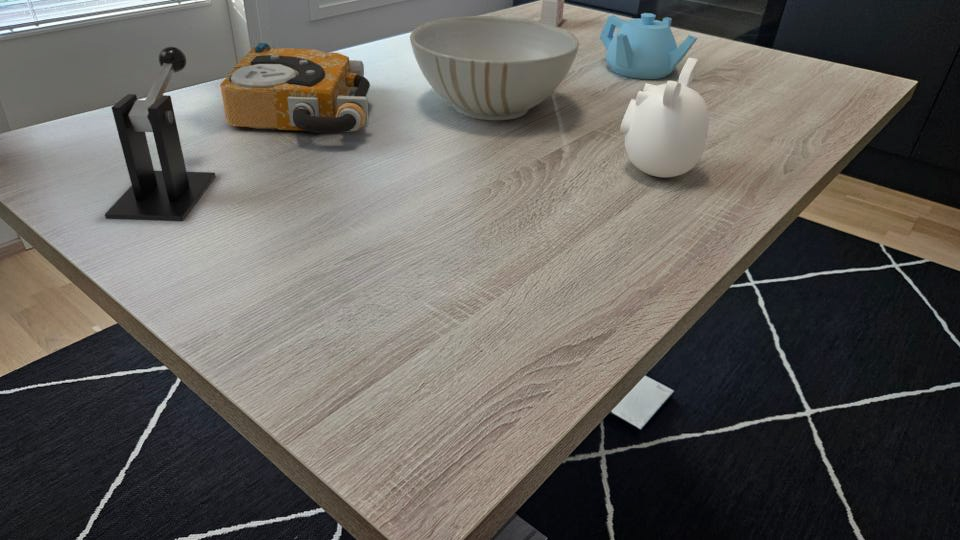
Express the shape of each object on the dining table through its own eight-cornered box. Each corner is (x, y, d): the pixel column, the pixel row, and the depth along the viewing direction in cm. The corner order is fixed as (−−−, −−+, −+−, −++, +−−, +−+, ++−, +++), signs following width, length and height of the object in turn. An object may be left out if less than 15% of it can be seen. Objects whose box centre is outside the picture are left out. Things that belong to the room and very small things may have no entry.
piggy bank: (614, 151, 105) (629, 50, 97) (694, 159, 103) (716, 58, 95) (613, 188, 95) (630, 78, 86) (701, 197, 93) (727, 87, 85)
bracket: (147, 178, 92) (124, 82, 85) (216, 180, 92) (198, 85, 85) (106, 223, 82) (76, 118, 75) (184, 225, 82) (160, 121, 75)
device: (384, 41, 121) (359, 100, 96) (386, 88, 125) (362, 156, 100) (252, 36, 120) (192, 94, 95) (258, 83, 125) (202, 151, 100)
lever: (167, 62, 90) (159, 40, 88) (192, 63, 90) (185, 41, 88) (132, 134, 81) (122, 112, 79) (159, 135, 81) (150, 113, 79)
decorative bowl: (456, 152, 103) (457, 70, 96) (386, 95, 122) (384, 23, 115) (603, 125, 114) (613, 50, 107) (518, 76, 133) (522, 10, 127)
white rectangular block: (540, 26, 165) (544, -19, 160) (547, 20, 171) (551, -24, 165) (555, 28, 164) (559, -17, 159) (562, 21, 170) (566, -22, 164)
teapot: (666, 59, 147) (676, 5, 141) (690, 82, 134) (702, 24, 128) (594, 58, 145) (601, 4, 139) (612, 81, 133) (620, 23, 127)
